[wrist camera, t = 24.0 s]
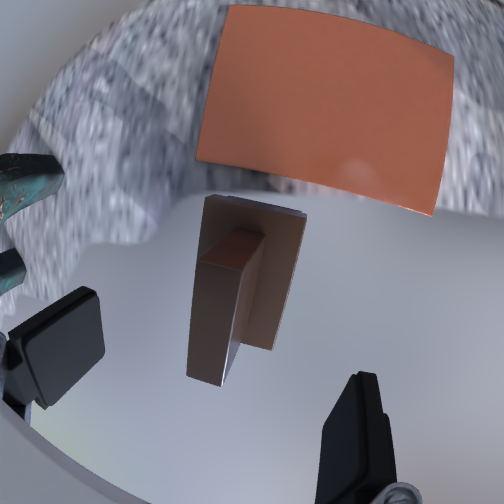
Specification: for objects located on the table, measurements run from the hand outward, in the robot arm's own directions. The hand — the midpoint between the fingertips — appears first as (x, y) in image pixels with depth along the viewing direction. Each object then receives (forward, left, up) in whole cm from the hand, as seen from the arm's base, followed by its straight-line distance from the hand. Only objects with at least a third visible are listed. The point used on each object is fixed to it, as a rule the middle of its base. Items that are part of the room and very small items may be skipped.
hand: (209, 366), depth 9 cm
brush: (+1, 0, -12) cm, 12 cm away
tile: (-2, -12, -12) cm, 17 cm away
